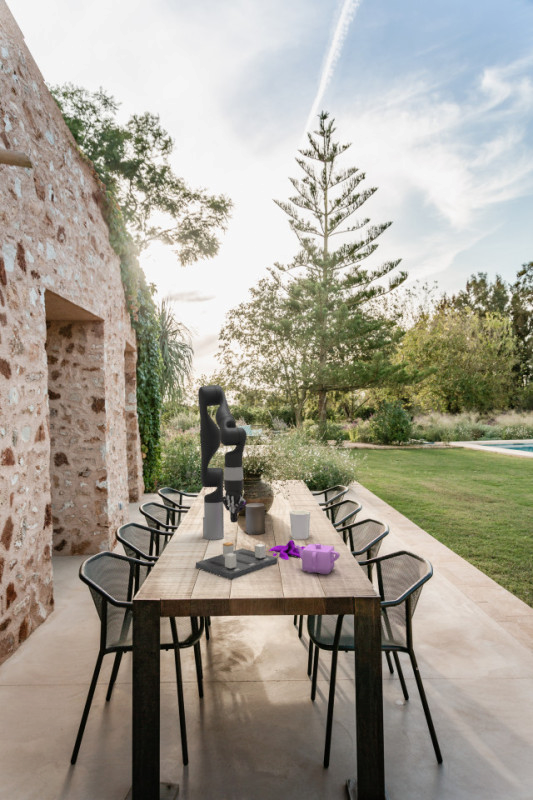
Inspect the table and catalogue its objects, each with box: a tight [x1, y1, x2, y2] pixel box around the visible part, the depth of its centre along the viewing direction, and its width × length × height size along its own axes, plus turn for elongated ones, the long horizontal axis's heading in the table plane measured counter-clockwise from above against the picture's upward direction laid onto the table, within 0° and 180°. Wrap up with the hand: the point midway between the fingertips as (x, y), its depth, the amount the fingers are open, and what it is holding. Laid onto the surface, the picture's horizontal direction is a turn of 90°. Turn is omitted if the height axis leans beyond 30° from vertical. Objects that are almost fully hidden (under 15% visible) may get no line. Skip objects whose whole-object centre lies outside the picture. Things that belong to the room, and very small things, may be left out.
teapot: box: [294, 543, 340, 576], centre depth 183 cm, size 18×14×10 cm
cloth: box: [268, 539, 306, 561], centre depth 204 cm, size 22×19×6 cm
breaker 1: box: [225, 553, 236, 569], centre depth 180 cm, size 3×3×4 cm
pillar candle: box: [244, 501, 266, 535], centre depth 240 cm, size 10×10×15 cm
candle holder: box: [289, 509, 311, 540], centre depth 229 cm, size 10×10×12 cm
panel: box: [195, 548, 278, 580], centre depth 189 cm, size 20×25×2 cm
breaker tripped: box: [222, 541, 235, 557], centre depth 193 cm, size 3×3×5 cm
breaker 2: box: [254, 543, 267, 558], centre depth 192 cm, size 3×3×4 cm
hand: (234, 522), depth 191 cm, fingers closed
